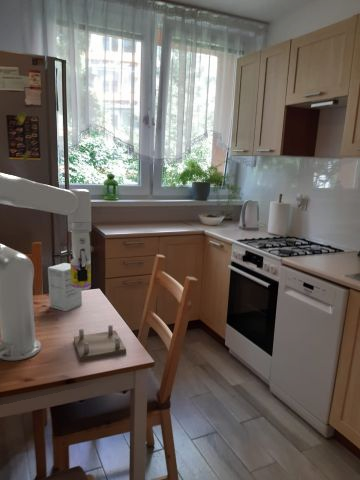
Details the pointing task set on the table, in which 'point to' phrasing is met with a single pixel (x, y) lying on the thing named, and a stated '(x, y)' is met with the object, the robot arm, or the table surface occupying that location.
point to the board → (98, 345)
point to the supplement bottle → (74, 281)
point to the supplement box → (62, 288)
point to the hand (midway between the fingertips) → (80, 277)
